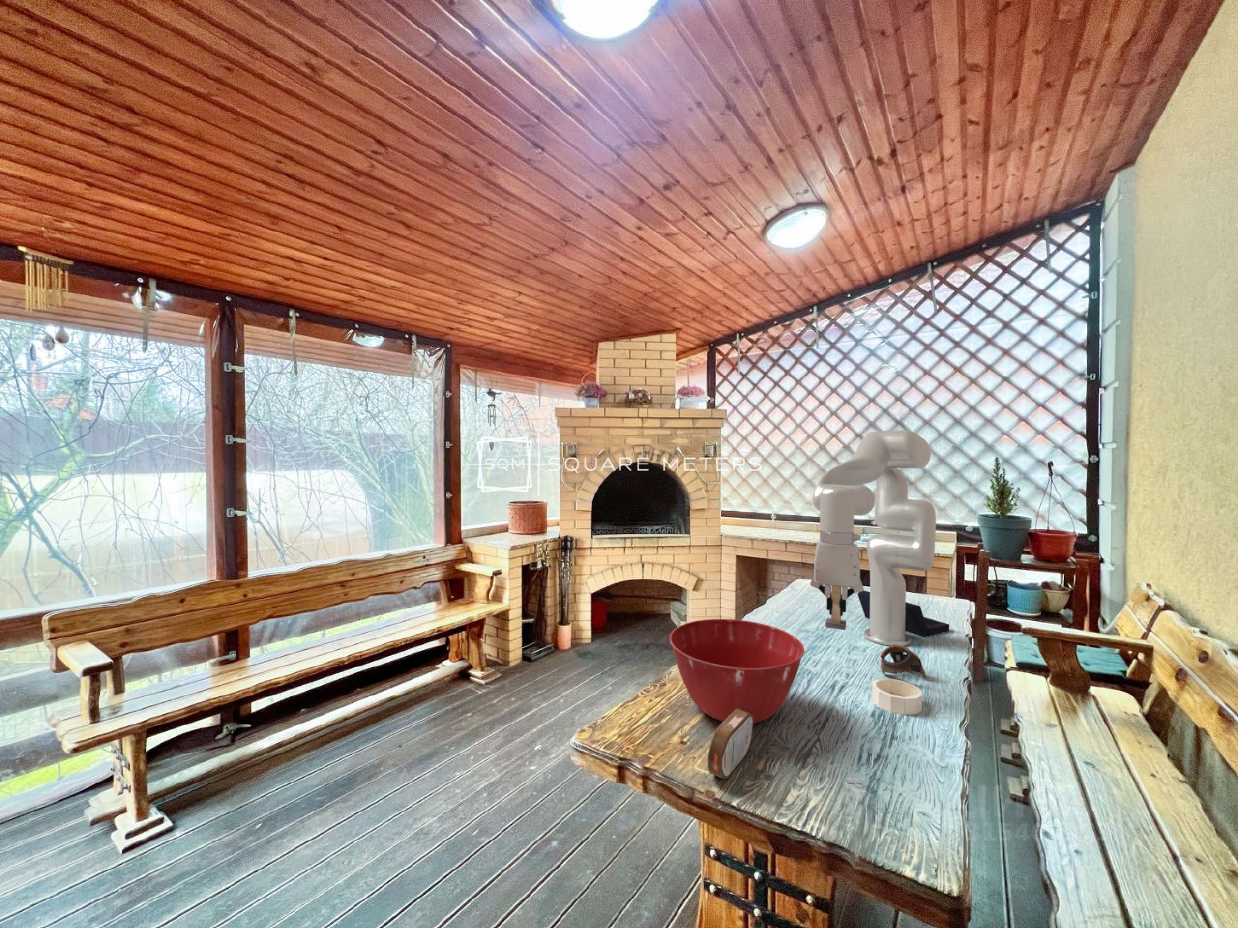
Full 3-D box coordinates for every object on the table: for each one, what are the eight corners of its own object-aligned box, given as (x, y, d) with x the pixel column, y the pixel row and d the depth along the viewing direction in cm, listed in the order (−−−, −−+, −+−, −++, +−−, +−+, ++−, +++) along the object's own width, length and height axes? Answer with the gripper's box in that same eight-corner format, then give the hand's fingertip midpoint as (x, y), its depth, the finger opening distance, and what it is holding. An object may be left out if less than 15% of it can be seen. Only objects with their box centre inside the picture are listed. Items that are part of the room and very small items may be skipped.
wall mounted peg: (826, 622, 126) (827, 581, 126) (846, 625, 124) (846, 583, 124) (825, 627, 122) (825, 584, 123) (845, 630, 120) (845, 586, 121)
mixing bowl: (827, 709, 111) (827, 639, 111) (758, 765, 91) (758, 680, 91) (718, 670, 131) (718, 610, 131) (643, 709, 111) (643, 639, 111)
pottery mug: (935, 686, 122) (921, 658, 121) (896, 698, 125) (882, 671, 123) (914, 656, 134) (902, 630, 133) (879, 668, 136) (866, 643, 135)
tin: (740, 742, 98) (740, 699, 98) (756, 748, 97) (756, 704, 96) (705, 783, 86) (705, 734, 86) (722, 790, 84) (723, 740, 84)
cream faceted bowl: (871, 690, 120) (872, 675, 120) (919, 698, 116) (919, 683, 116) (872, 708, 111) (872, 692, 111) (923, 718, 107) (923, 701, 107)
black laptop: (949, 632, 160) (949, 600, 160) (915, 640, 153) (915, 607, 153) (889, 613, 179) (890, 585, 179) (856, 619, 172) (857, 590, 172)
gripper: (873, 538, 123) (872, 614, 123) (804, 533, 130) (803, 605, 130) (873, 543, 116) (872, 623, 117) (800, 538, 123) (800, 613, 124)
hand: (836, 613), depth 123 cm, fingers closed on wall mounted peg
